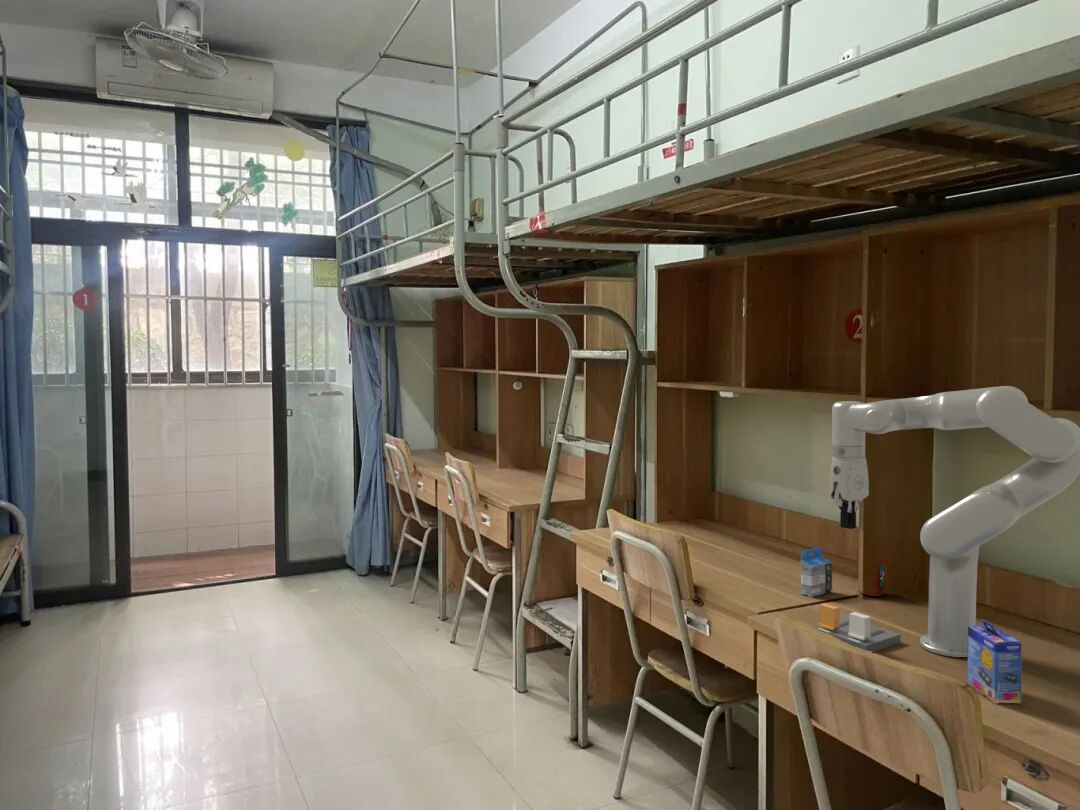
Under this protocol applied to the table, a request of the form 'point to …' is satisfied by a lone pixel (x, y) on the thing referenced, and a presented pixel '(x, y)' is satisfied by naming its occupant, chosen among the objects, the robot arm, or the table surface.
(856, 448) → the robot arm
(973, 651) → the ink cartridge box
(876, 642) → the breaker panel
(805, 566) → the label tape box
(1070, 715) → the table surface
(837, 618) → the orange breaker handle
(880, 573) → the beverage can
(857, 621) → the white breaker handle
